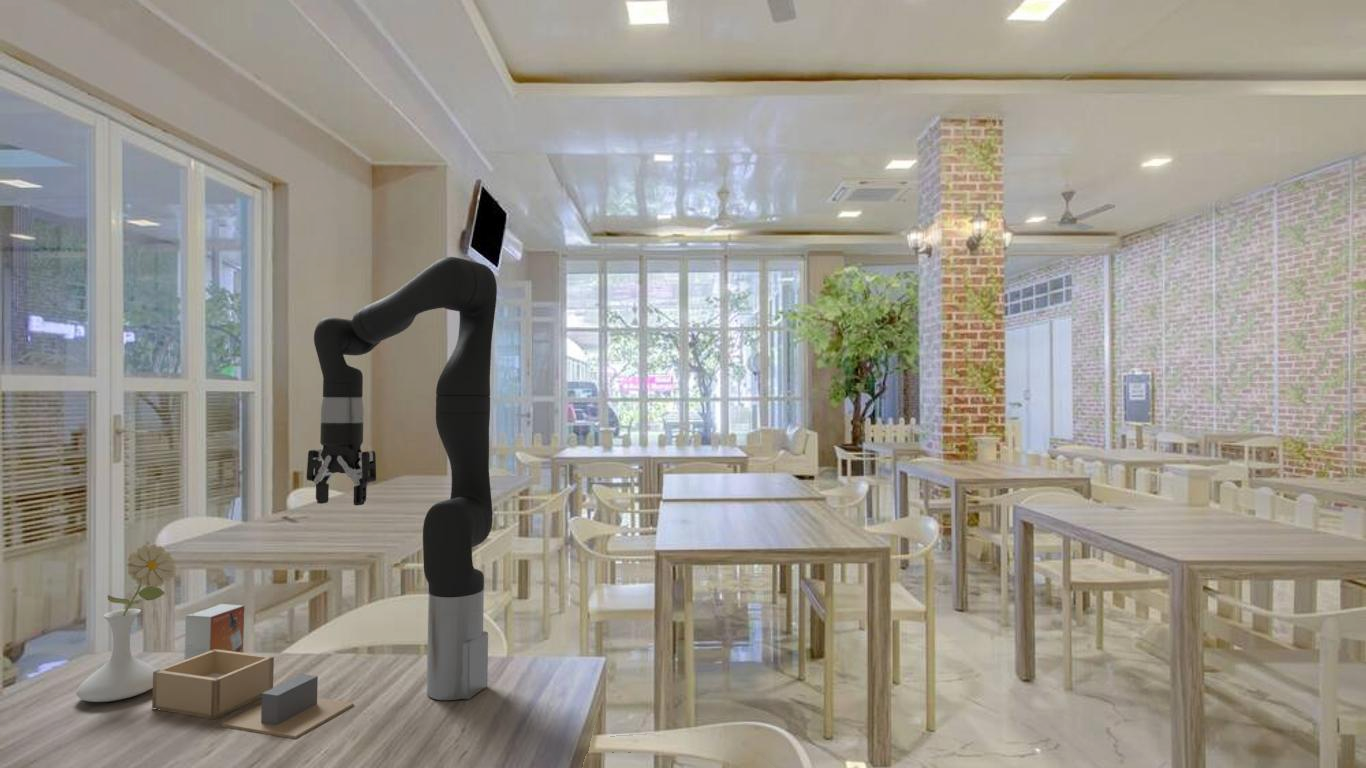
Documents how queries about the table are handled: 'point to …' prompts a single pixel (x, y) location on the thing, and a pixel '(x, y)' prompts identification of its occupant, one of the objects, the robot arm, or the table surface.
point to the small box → (214, 630)
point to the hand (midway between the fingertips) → (340, 504)
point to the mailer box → (212, 683)
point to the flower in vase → (129, 632)
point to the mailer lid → (289, 710)
